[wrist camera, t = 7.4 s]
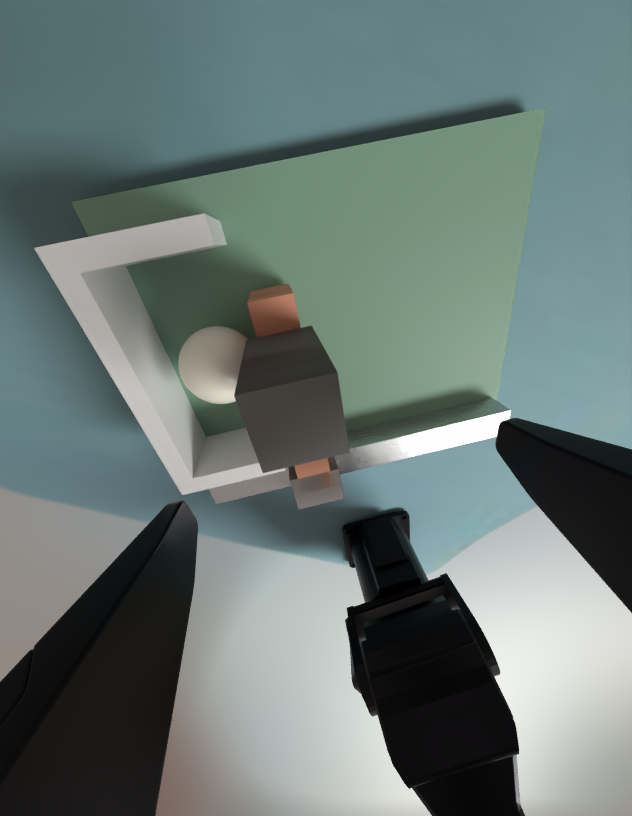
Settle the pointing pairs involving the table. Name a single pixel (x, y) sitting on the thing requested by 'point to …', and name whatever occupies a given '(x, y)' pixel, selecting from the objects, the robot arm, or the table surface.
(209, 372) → the ball
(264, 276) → the pitch
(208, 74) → the table surface
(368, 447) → the rail
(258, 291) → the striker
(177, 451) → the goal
